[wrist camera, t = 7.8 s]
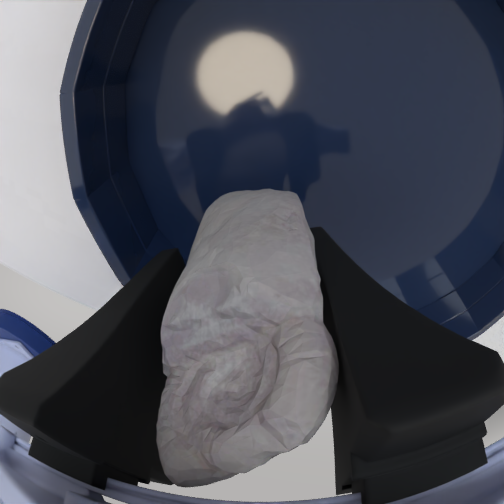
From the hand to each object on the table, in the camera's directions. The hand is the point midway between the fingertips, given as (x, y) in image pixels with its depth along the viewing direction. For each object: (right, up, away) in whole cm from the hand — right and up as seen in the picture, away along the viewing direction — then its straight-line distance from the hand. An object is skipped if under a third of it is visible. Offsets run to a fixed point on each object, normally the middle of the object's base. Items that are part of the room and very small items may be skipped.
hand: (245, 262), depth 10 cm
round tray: (+6, +5, 0) cm, 8 cm away
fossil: (0, +2, +2) cm, 3 cm away
